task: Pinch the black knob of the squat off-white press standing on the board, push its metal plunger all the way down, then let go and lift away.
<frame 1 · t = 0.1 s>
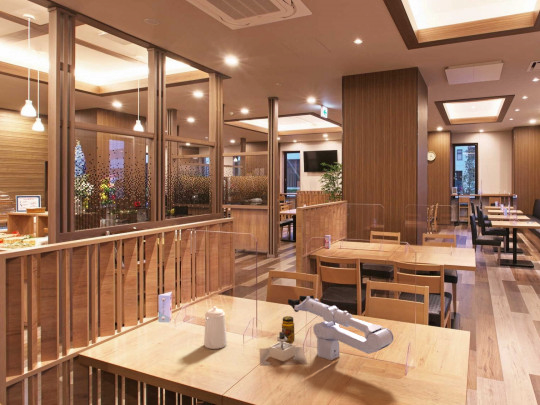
hand: (294, 299, 197), 22 cm above the table, tool horizontal, fingers open, 7 cm apart
condiment: (288, 341, 201), on the table
press housing: (282, 355, 183), resting on board
plunger: (282, 340, 182), point 8 cm above the table, slide at 0.0 cm
board: (282, 357, 183), on the table
coffeepot: (215, 346, 197), on the table
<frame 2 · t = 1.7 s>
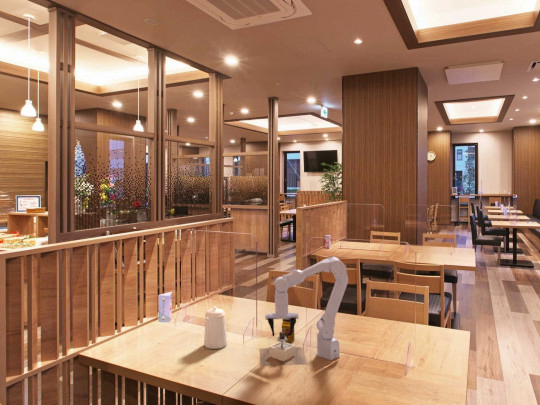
hand: (282, 335, 182), 10 cm above the table, tool pointing down, fingers open, 7 cm apart
nothing on the table moved.
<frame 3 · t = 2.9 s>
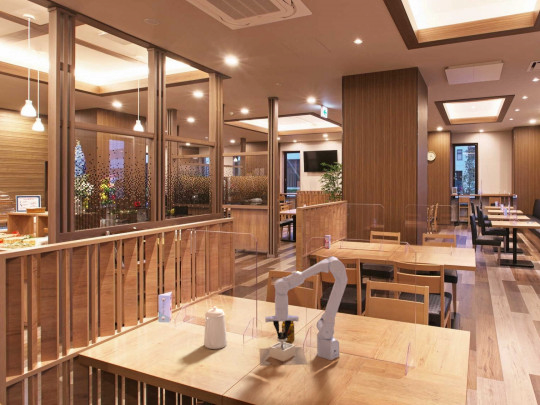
hand: (282, 337, 182), 9 cm above the table, tool pointing down, fingers closed on plunger, 2 cm apart
plunger: (282, 340, 182), point 8 cm above the table, slide at 0.0 cm, touching gripper
everything else where it was.
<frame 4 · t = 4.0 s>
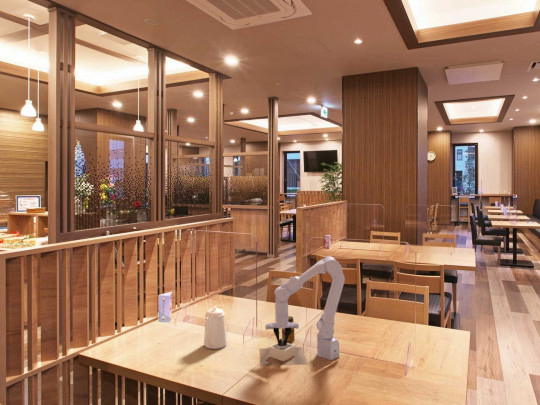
hand: (282, 344, 182), 6 cm above the table, tool pointing down, fingers closed on plunger, 2 cm apart
plunger: (282, 347, 182), point 5 cm above the table, slide at 3.1 cm, touching gripper
everything else where it was.
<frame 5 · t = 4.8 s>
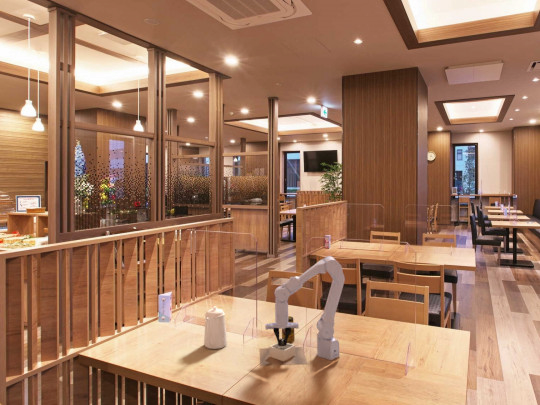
hand: (282, 344, 182), 6 cm above the table, tool pointing down, fingers closed on plunger, 2 cm apart
plunger: (282, 347, 182), point 5 cm above the table, slide at 3.1 cm, touching gripper
everything else where it was.
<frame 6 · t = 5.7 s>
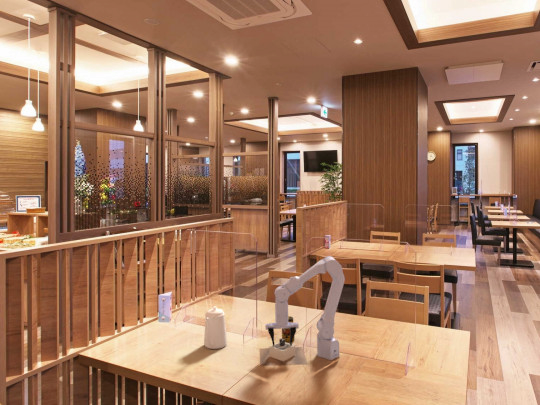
hand: (282, 344, 182), 6 cm above the table, tool pointing down, fingers open, 7 cm apart
plunger: (282, 347, 182), point 5 cm above the table, slide at 3.1 cm
everything else where it was.
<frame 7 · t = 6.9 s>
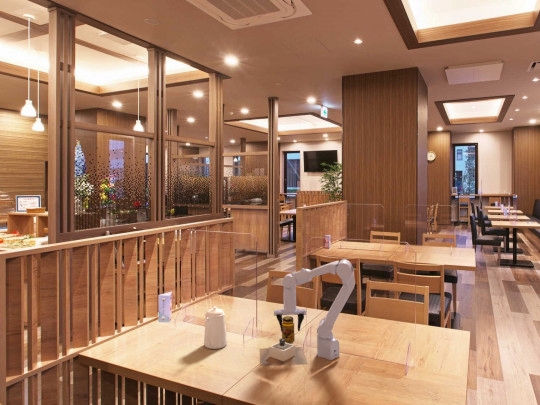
hand: (290, 330, 187), 10 cm above the table, tool pointing down, fingers open, 7 cm apart
nothing on the table moved.
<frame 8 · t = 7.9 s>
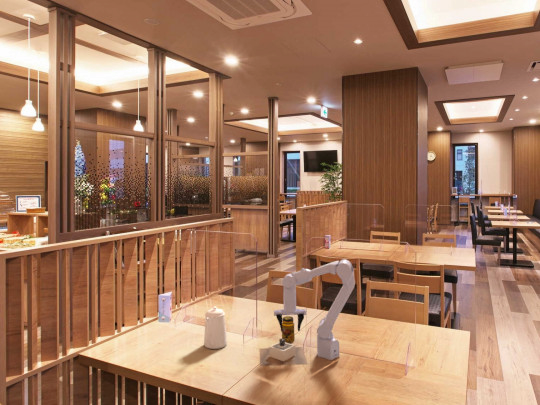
hand: (290, 330, 187), 10 cm above the table, tool pointing down, fingers open, 7 cm apart
nothing on the table moved.
at the end: plunger slide at 3.1 cm; the gripper is holding nothing; condiment moved 0.3 cm from its start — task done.
